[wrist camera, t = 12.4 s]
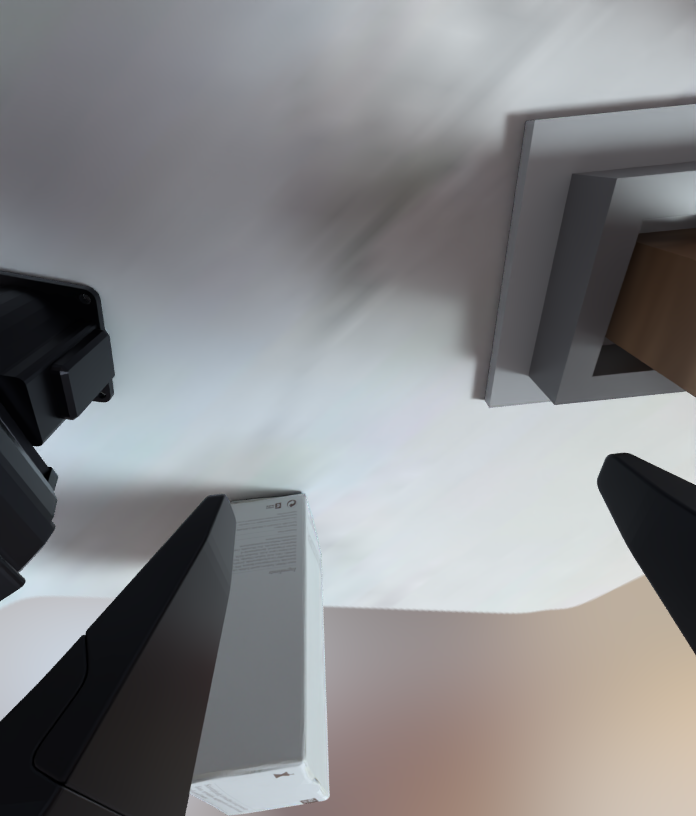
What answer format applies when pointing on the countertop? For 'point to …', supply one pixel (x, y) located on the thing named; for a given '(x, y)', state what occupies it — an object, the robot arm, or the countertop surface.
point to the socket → (585, 250)
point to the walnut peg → (660, 306)
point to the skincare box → (268, 668)
